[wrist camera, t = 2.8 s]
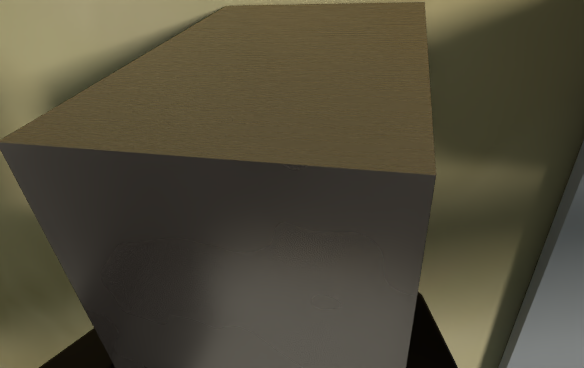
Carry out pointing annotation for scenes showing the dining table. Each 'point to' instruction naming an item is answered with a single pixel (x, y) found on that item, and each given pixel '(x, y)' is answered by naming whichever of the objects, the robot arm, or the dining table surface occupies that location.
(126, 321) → the steel block
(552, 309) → the vise body
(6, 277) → the dining table surface
